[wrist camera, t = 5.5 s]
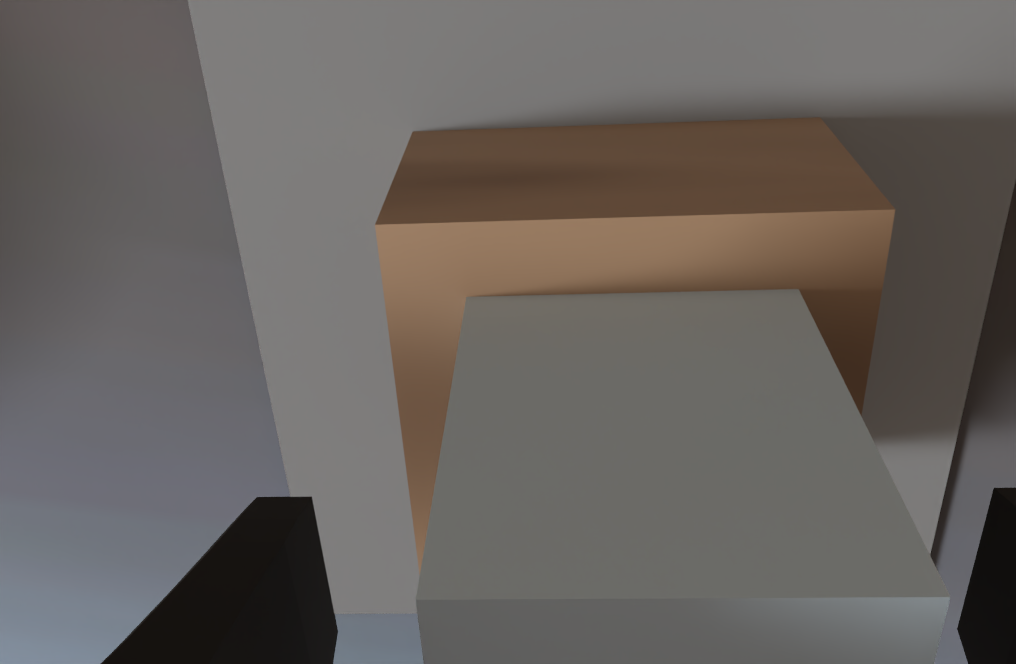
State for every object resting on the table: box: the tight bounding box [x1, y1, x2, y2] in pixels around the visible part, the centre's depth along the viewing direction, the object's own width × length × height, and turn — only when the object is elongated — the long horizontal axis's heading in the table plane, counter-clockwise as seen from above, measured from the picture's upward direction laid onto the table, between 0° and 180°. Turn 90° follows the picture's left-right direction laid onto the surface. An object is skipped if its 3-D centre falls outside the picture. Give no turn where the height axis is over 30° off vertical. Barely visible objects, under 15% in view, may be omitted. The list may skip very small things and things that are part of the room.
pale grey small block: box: [416, 289, 951, 664], centre depth 10 cm, size 4×4×5 cm
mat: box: [188, 0, 1016, 614], centre depth 16 cm, size 14×12×1 cm
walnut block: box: [375, 117, 895, 574], centre depth 14 cm, size 6×6×4 cm
